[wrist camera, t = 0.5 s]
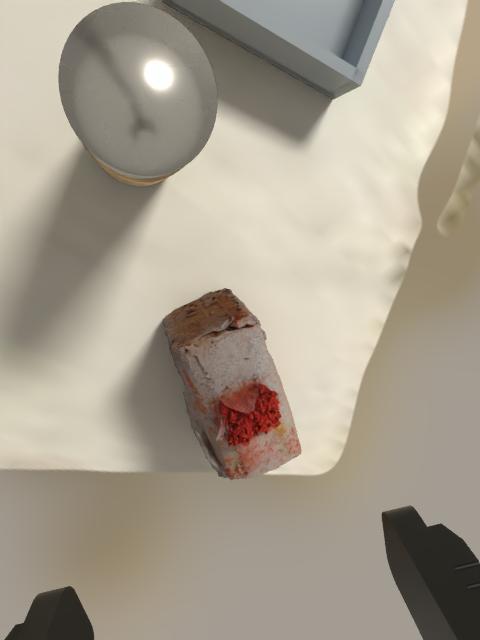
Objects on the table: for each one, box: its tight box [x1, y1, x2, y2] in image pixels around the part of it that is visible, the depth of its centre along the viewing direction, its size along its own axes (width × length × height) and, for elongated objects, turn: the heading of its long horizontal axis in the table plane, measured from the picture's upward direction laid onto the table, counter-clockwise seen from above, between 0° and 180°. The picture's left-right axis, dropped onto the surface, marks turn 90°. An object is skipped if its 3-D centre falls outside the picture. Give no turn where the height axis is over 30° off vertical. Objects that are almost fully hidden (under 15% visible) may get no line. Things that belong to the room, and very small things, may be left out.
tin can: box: [59, 2, 217, 187], centre depth 22 cm, size 6×6×14 cm
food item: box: [163, 288, 301, 480], centre depth 31 cm, size 14×8×10 cm, turn 21°
